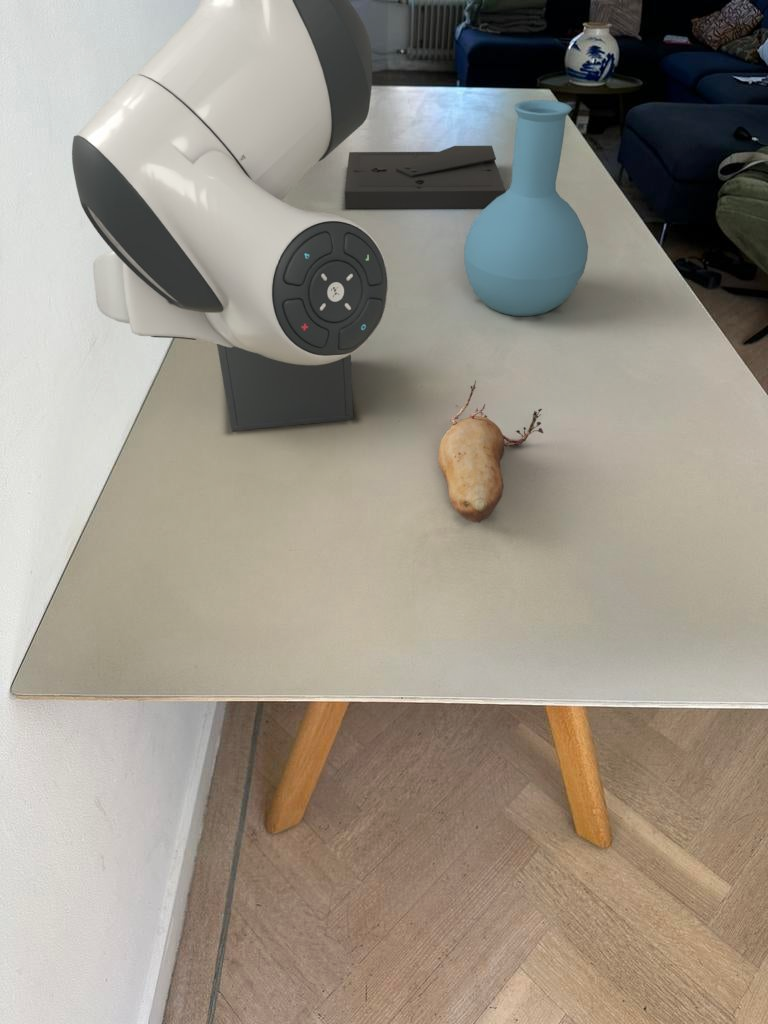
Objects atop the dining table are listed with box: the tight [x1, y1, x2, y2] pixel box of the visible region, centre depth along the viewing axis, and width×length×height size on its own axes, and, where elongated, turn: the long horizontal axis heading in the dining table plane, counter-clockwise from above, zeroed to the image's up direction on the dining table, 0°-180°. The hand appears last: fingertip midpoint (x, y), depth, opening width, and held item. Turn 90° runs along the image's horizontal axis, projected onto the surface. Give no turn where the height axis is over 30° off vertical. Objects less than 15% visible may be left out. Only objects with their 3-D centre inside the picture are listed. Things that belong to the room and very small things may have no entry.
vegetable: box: [437, 380, 544, 523], centre depth 74 cm, size 16×11×10 cm
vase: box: [463, 99, 589, 317], centre depth 100 cm, size 16×17×25 cm
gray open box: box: [216, 344, 354, 432], centre depth 86 cm, size 14×14×11 cm
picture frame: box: [344, 145, 507, 210], centre depth 143 cm, size 23×4×28 cm
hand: (212, 284), depth 66 cm, fingers open, 8 cm apart
